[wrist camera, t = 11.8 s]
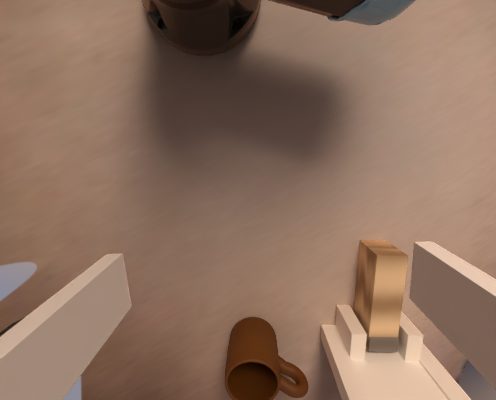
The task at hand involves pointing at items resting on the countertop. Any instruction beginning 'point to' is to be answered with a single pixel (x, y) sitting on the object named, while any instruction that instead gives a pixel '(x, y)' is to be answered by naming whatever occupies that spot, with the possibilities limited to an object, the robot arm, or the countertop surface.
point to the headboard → (384, 364)
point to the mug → (259, 364)
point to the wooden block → (380, 293)
